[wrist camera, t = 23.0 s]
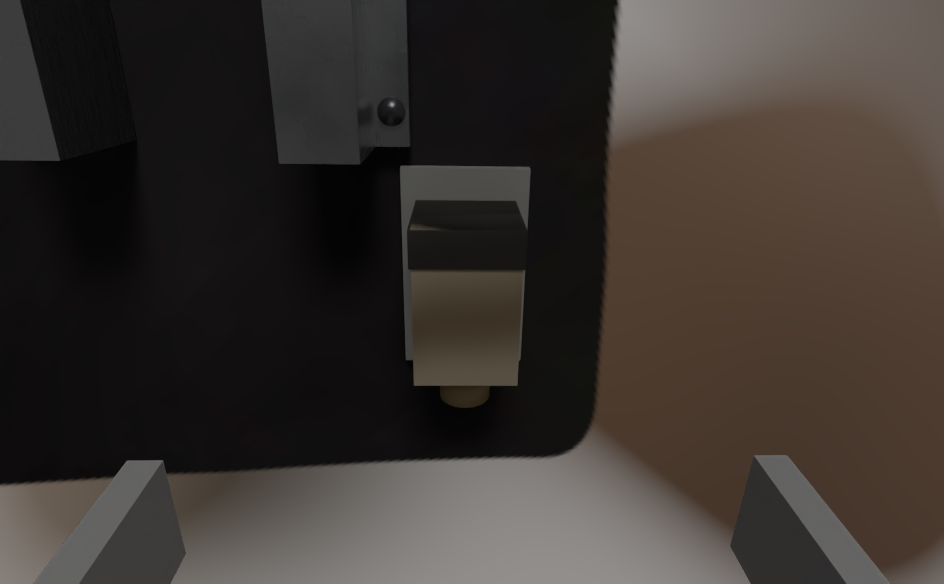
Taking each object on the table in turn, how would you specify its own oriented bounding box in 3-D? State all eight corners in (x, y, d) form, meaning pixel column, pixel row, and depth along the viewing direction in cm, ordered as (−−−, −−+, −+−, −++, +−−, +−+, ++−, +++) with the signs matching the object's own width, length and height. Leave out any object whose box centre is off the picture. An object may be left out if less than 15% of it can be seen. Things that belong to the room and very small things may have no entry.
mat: (401, 165, 27) (399, 167, 27) (528, 166, 27) (530, 169, 27) (406, 354, 31) (405, 360, 30) (519, 354, 31) (520, 360, 31)
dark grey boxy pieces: (-34, -126, 23) (-176, -177, 18) (405, -115, 23) (390, -162, 18) (35, 138, 26) (-66, 159, 21) (411, 143, 27) (400, 164, 22)
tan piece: (415, 200, 27) (406, 230, 23) (515, 200, 27) (527, 231, 23) (419, 368, 31) (412, 425, 26) (508, 368, 31) (517, 425, 26)
